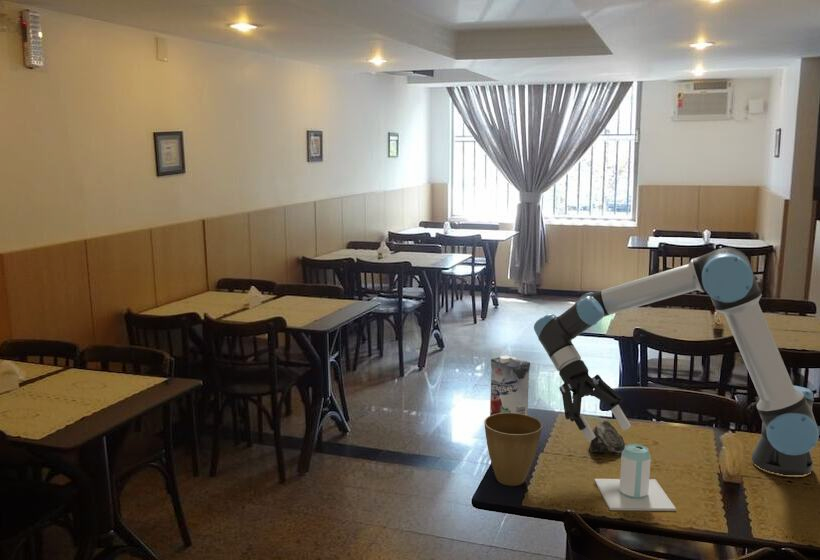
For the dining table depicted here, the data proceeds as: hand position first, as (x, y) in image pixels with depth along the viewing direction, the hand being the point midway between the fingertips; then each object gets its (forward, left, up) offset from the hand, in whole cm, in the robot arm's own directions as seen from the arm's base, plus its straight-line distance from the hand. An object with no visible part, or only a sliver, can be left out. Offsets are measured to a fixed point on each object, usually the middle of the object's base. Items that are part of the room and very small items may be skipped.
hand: (610, 434), depth 201 cm
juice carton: (+24, -21, -12) cm, 34 cm away
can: (-4, +11, -12) cm, 16 cm away
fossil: (-4, -17, -12) cm, 22 cm away
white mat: (-4, +11, -12) cm, 17 cm away
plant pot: (+26, +3, -12) cm, 29 cm away
